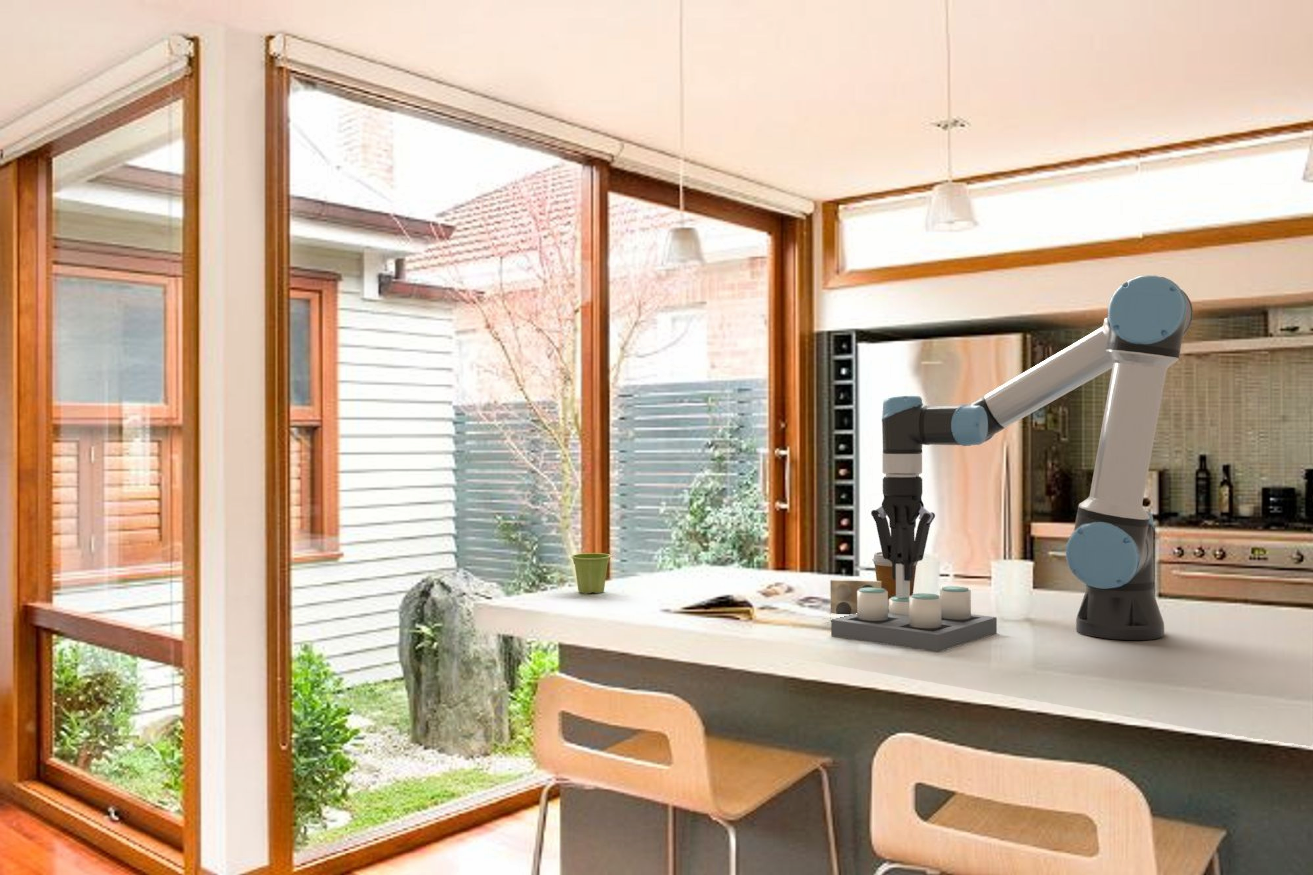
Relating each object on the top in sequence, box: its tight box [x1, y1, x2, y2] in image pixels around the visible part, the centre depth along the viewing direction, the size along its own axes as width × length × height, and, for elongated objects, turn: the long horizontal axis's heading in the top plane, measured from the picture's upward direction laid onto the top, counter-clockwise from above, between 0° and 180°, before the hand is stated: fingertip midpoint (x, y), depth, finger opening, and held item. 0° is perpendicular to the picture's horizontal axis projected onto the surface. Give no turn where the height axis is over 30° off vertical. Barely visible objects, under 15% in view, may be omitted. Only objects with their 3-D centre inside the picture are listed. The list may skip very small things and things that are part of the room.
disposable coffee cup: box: [871, 551, 919, 606], centre depth 228 cm, size 10×10×12 cm
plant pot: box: [571, 552, 612, 594], centre depth 257 cm, size 9×9×9 cm
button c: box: [909, 592, 942, 628], centre depth 194 cm, size 6×6×5 cm
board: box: [830, 606, 998, 653], centre depth 202 cm, size 22×22×3 cm
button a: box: [939, 585, 972, 620], centre depth 202 cm, size 6×6×5 cm
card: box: [829, 579, 881, 614], centre depth 217 cm, size 10×1×8 cm, turn 76°
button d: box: [857, 587, 888, 621], centre depth 202 cm, size 6×6×5 cm
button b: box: [889, 596, 909, 616], centre depth 210 cm, size 6×6×5 cm
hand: (902, 596), depth 210 cm, fingers closed
